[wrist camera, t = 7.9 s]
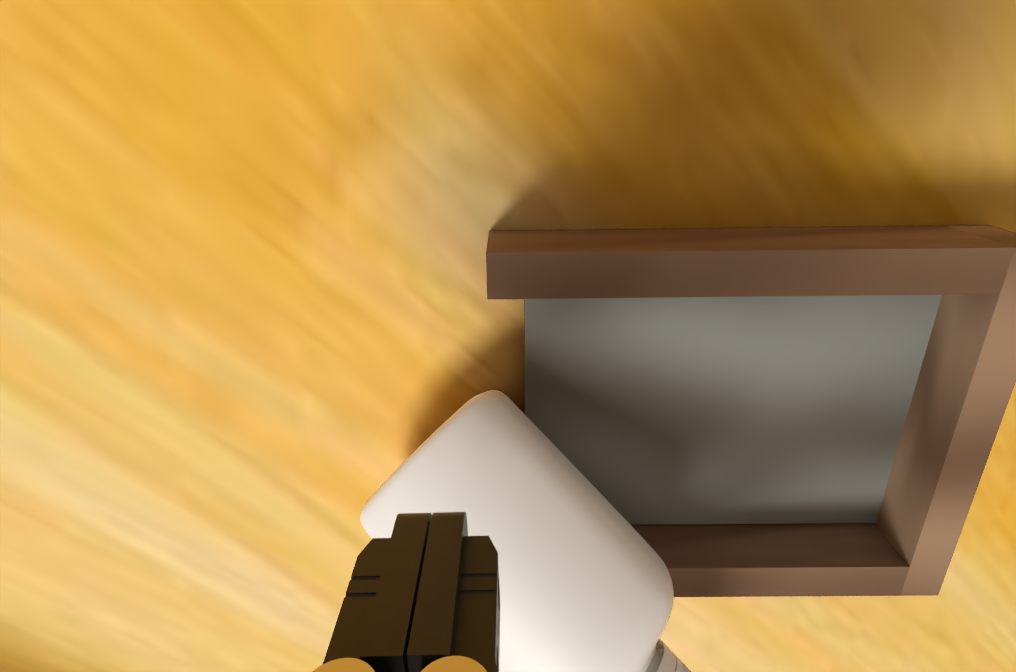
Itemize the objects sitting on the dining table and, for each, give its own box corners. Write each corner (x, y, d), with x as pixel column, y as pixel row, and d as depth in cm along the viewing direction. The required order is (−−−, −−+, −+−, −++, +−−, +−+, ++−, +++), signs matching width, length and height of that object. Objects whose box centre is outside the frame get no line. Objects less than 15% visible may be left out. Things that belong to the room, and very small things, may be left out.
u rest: (489, 230, 17) (486, 253, 15) (988, 224, 17) (1064, 247, 14) (497, 542, 21) (495, 597, 19) (891, 540, 21) (938, 595, 19)
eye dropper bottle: (481, 404, 21) (733, 669, 19) (355, 520, 19) (626, 829, 17) (503, 366, 17) (824, 698, 15) (345, 508, 15) (699, 910, 13)
